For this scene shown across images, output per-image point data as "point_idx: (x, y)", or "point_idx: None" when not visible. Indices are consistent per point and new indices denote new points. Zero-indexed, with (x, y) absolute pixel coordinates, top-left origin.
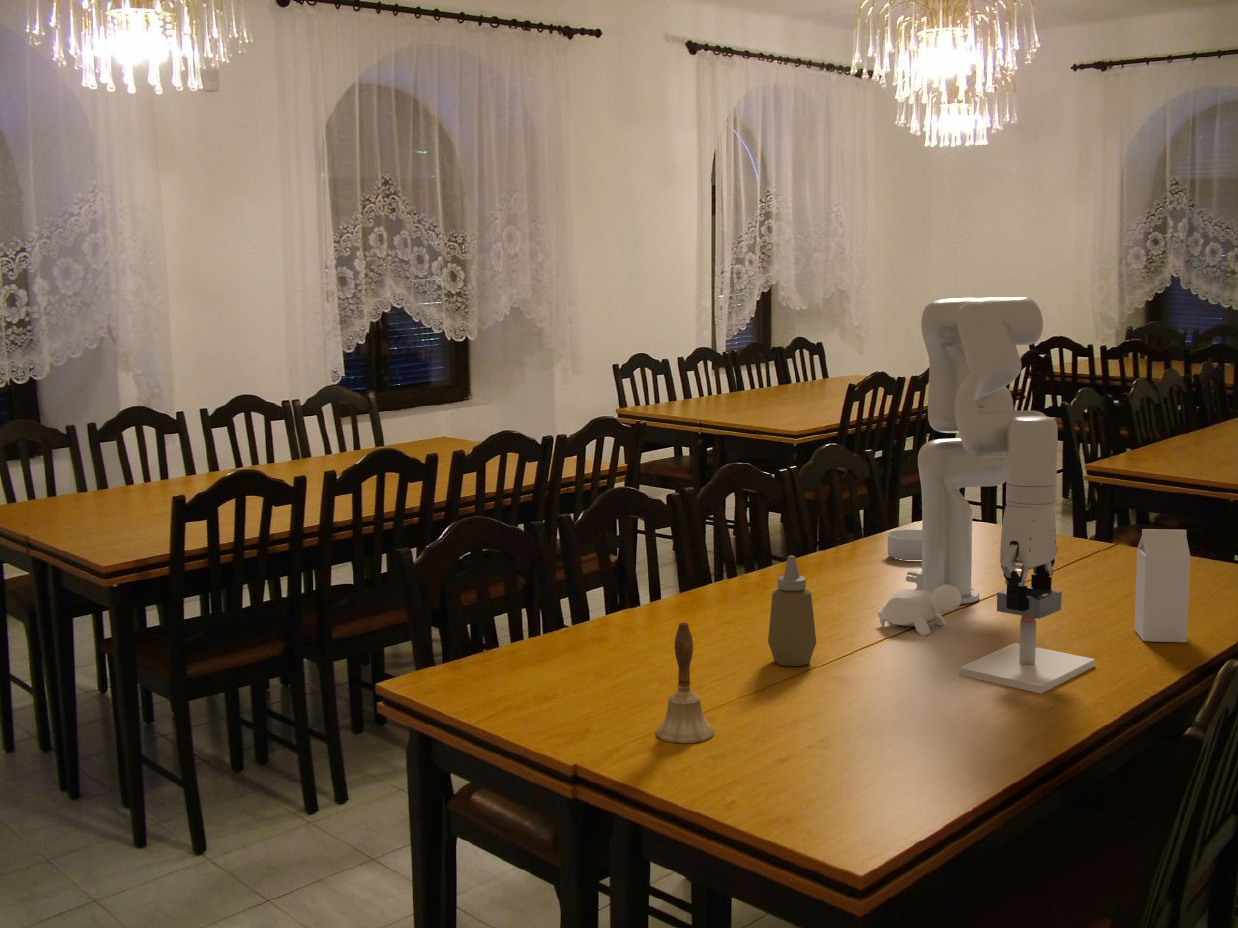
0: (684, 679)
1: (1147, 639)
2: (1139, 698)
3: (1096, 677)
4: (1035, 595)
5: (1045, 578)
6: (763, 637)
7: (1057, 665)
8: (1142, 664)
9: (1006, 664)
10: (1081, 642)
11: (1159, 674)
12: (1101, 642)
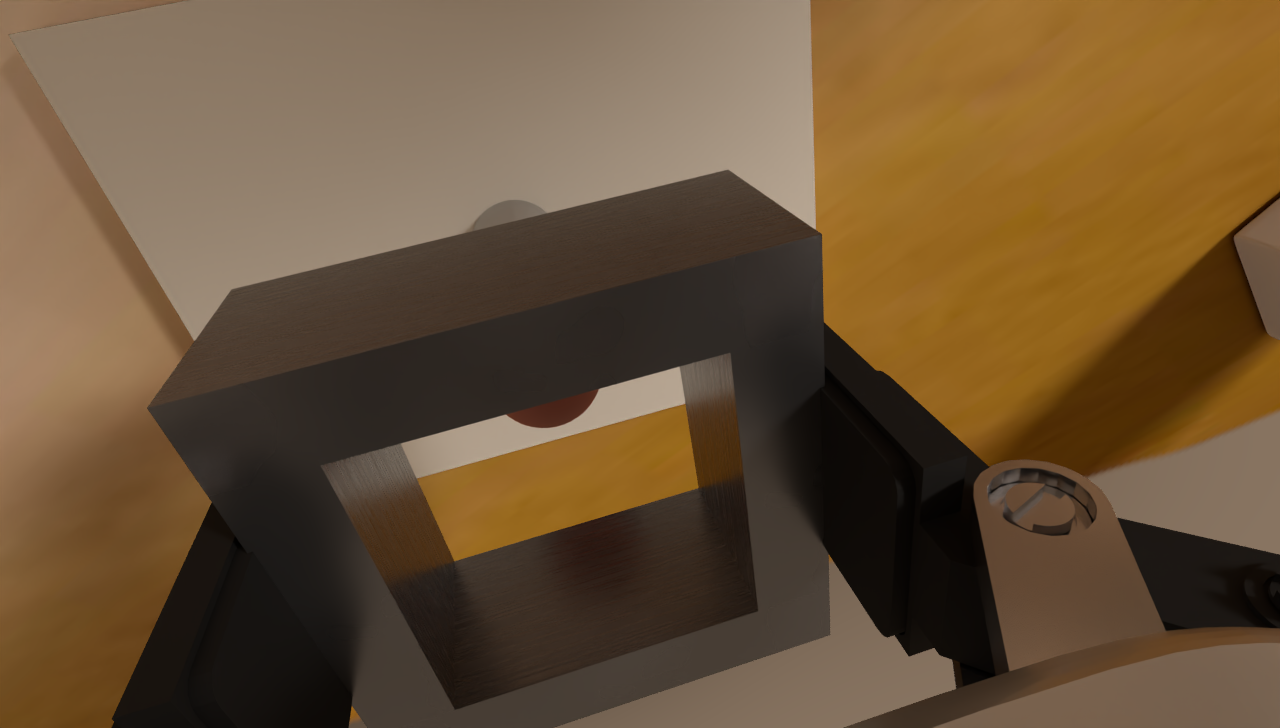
0: None
1: (1243, 250)
2: None
3: (679, 443)
4: (721, 442)
5: (886, 613)
6: None
7: None
8: (939, 417)
9: (392, 188)
10: (1117, 64)
11: None
12: (1156, 128)
